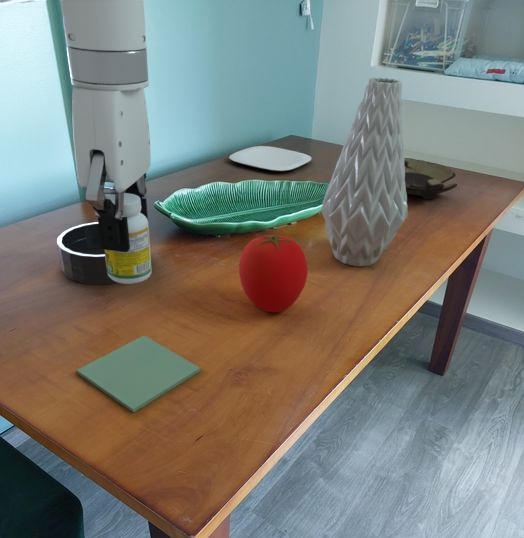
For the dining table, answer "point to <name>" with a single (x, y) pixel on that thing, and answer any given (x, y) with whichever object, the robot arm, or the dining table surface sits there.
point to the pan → (83, 255)
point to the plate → (270, 158)
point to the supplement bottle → (131, 246)
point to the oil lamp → (426, 178)
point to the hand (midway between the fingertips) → (126, 237)
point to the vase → (369, 179)
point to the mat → (138, 372)
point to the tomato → (273, 272)
